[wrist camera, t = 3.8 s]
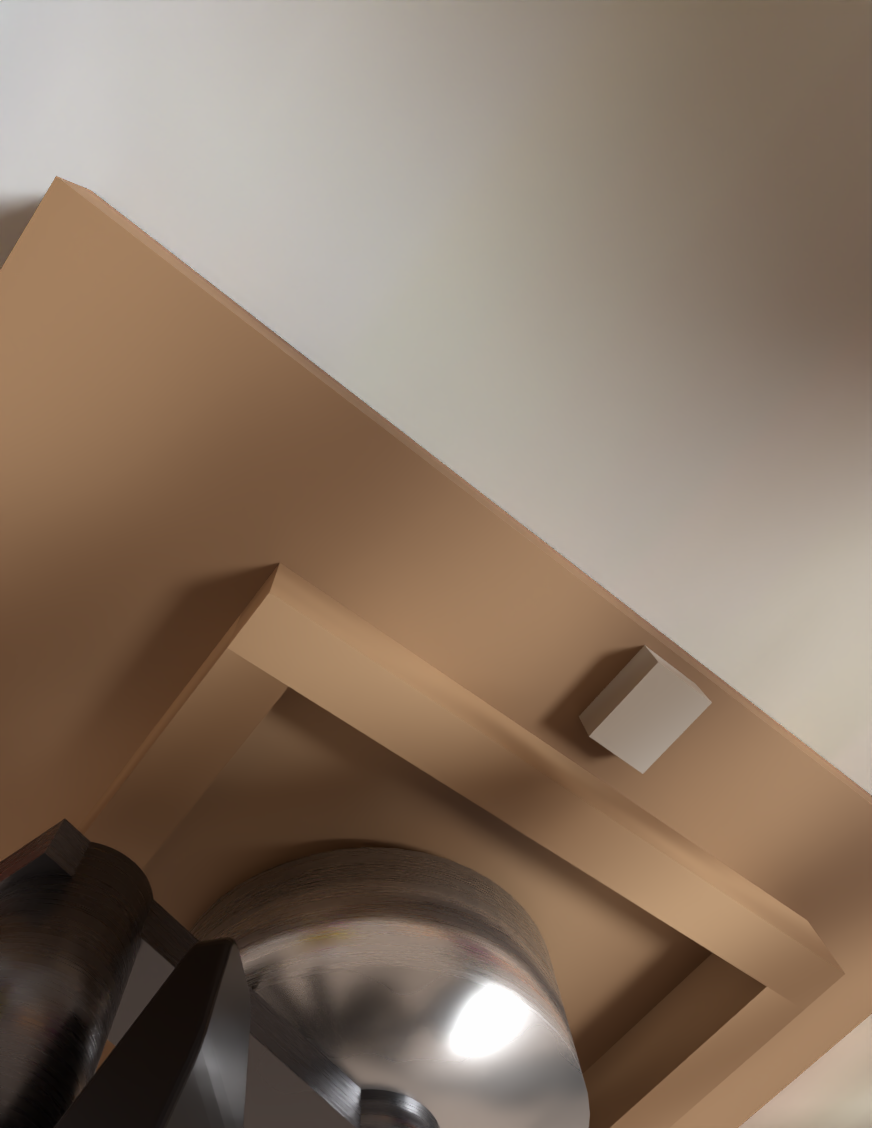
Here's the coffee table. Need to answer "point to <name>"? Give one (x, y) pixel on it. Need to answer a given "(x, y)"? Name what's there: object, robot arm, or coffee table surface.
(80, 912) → the crank wheel
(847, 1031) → the board
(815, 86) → the coffee table surface
